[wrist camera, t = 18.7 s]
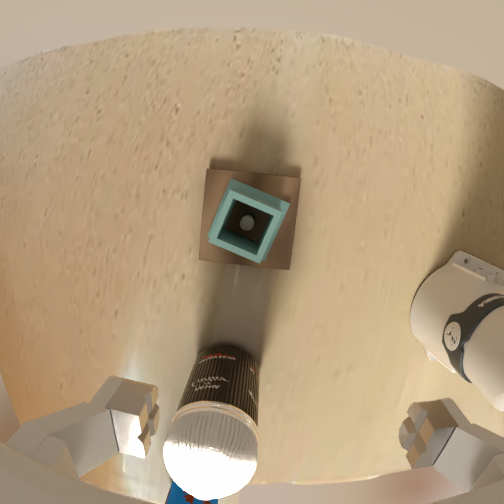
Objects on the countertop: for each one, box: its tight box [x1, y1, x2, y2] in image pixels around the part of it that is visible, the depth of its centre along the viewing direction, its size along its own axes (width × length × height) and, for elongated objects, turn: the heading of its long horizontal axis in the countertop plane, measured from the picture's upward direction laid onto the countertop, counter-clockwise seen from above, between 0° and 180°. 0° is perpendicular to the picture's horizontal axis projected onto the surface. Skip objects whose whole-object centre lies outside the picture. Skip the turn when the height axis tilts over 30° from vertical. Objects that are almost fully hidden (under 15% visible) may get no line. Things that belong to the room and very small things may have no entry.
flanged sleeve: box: [207, 178, 290, 264], centre depth 38 cm, size 8×8×8 cm
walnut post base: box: [199, 169, 301, 270], centre depth 40 cm, size 12×12×6 cm
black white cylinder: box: [163, 343, 259, 500], centre depth 35 cm, size 10×10×25 cm
